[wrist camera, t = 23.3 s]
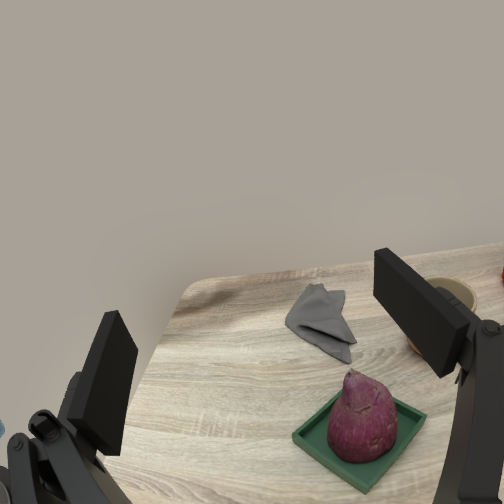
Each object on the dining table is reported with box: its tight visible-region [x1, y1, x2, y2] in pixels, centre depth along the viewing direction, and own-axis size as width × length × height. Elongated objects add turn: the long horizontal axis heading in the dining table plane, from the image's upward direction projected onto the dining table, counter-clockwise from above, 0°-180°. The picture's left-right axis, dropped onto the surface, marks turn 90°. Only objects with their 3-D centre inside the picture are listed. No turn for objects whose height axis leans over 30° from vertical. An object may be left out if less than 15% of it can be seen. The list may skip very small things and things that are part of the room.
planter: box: [407, 276, 477, 355], centre depth 43 cm, size 12×12×11 cm
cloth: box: [285, 284, 357, 364], centre depth 59 cm, size 26×14×2 cm, turn 172°
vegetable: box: [327, 368, 398, 463], centre depth 32 cm, size 10×10×15 cm
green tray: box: [292, 389, 427, 494], centre depth 34 cm, size 14×14×3 cm
